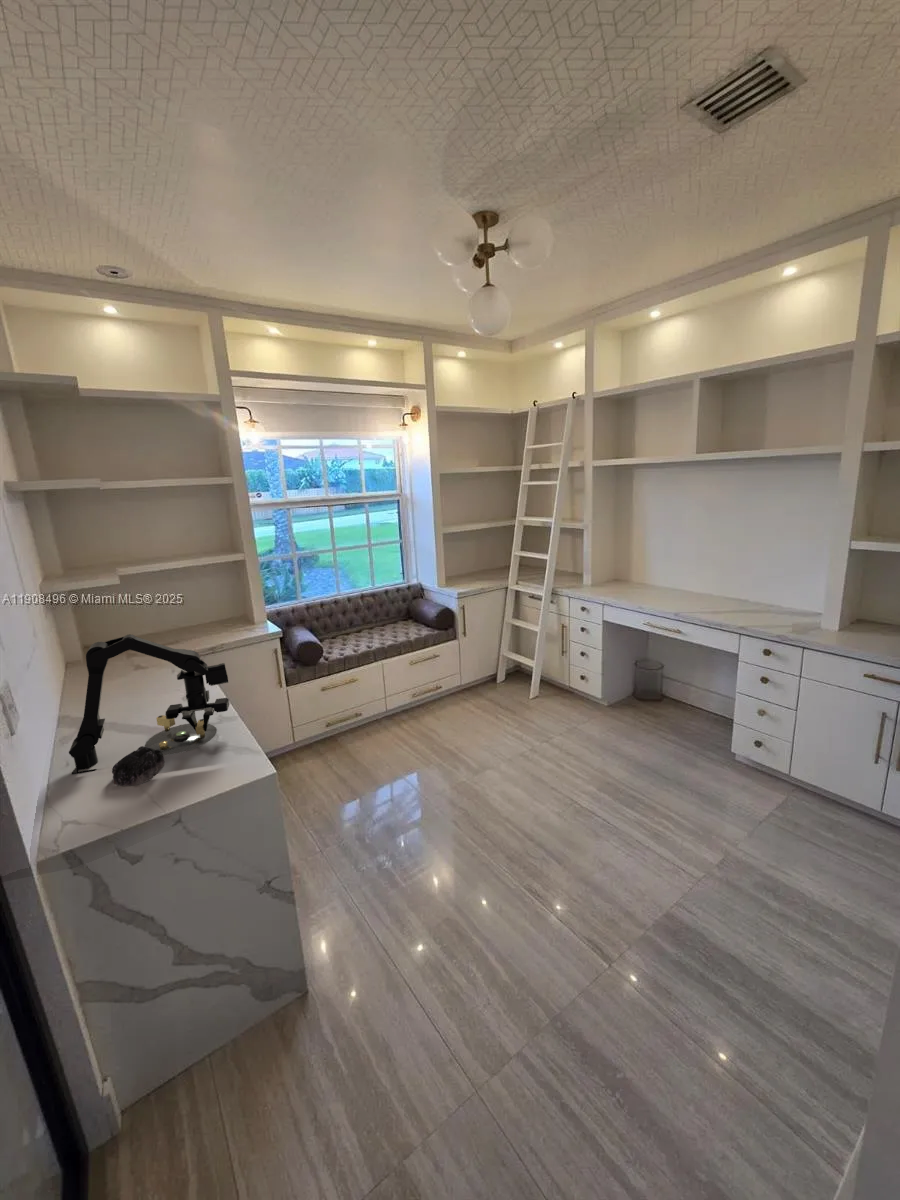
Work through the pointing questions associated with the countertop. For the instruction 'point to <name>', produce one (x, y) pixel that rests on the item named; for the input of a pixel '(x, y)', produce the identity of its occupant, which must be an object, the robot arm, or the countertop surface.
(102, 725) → the robot arm
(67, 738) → the countertop surface
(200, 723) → the knob near
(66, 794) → the countertop surface
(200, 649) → the countertop surface
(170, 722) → the knob far
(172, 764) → the countertop surface
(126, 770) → the crystal cluster
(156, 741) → the levelling plate
